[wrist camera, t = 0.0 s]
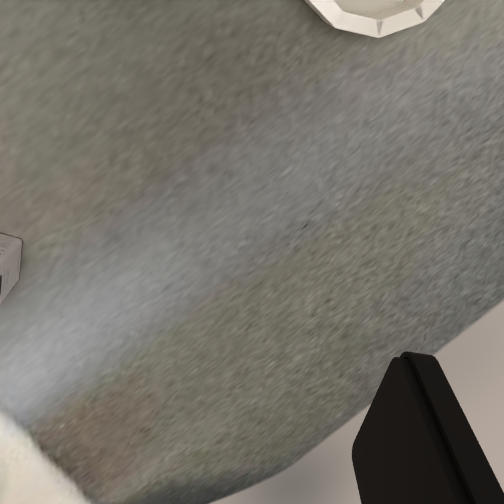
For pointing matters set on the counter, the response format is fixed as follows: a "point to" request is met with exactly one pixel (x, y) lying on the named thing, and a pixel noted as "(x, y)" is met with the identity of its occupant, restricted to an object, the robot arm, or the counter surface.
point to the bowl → (374, 14)
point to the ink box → (9, 263)
